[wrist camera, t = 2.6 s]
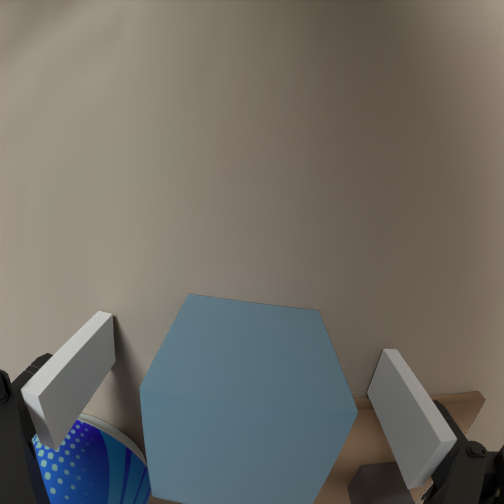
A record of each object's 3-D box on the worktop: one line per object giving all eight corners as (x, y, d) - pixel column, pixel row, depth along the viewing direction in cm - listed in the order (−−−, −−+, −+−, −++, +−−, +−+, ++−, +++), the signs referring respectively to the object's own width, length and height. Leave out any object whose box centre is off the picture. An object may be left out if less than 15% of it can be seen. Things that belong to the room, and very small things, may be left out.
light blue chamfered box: (189, 293, 14) (139, 387, 7) (318, 310, 14) (358, 412, 7) (183, 393, 15) (152, 496, 9) (293, 407, 15) (306, 513, 9)
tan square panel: (300, 396, 15) (317, 501, 9) (478, 391, 15) (529, 454, 9) (262, 508, 18) (263, 580, 11) (406, 499, 18) (426, 556, 12)
